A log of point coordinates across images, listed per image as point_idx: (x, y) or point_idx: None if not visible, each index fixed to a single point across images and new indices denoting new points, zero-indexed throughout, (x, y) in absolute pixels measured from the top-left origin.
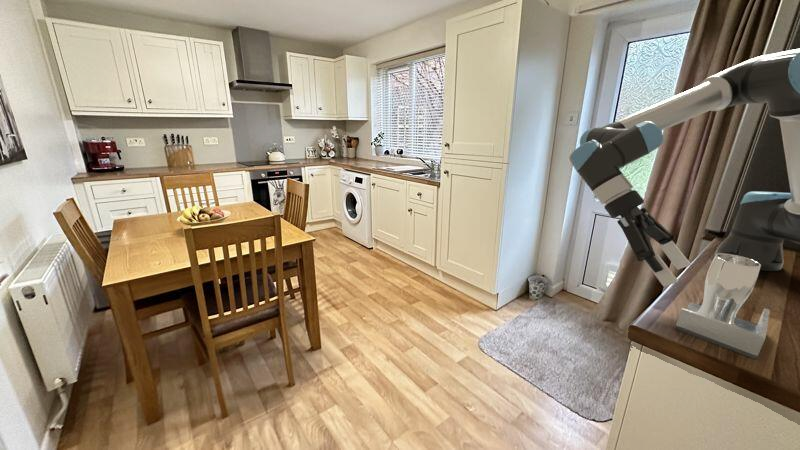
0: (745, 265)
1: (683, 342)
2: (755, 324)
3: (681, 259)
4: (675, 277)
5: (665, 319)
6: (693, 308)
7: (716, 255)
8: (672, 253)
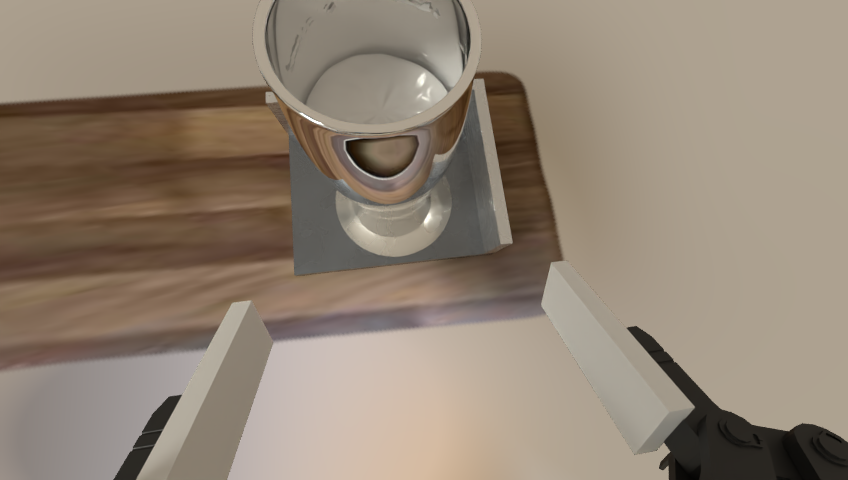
0: None
1: (539, 221)
2: (295, 137)
3: (240, 351)
4: (564, 275)
5: (463, 284)
6: (338, 255)
7: (404, 124)
8: (226, 415)
